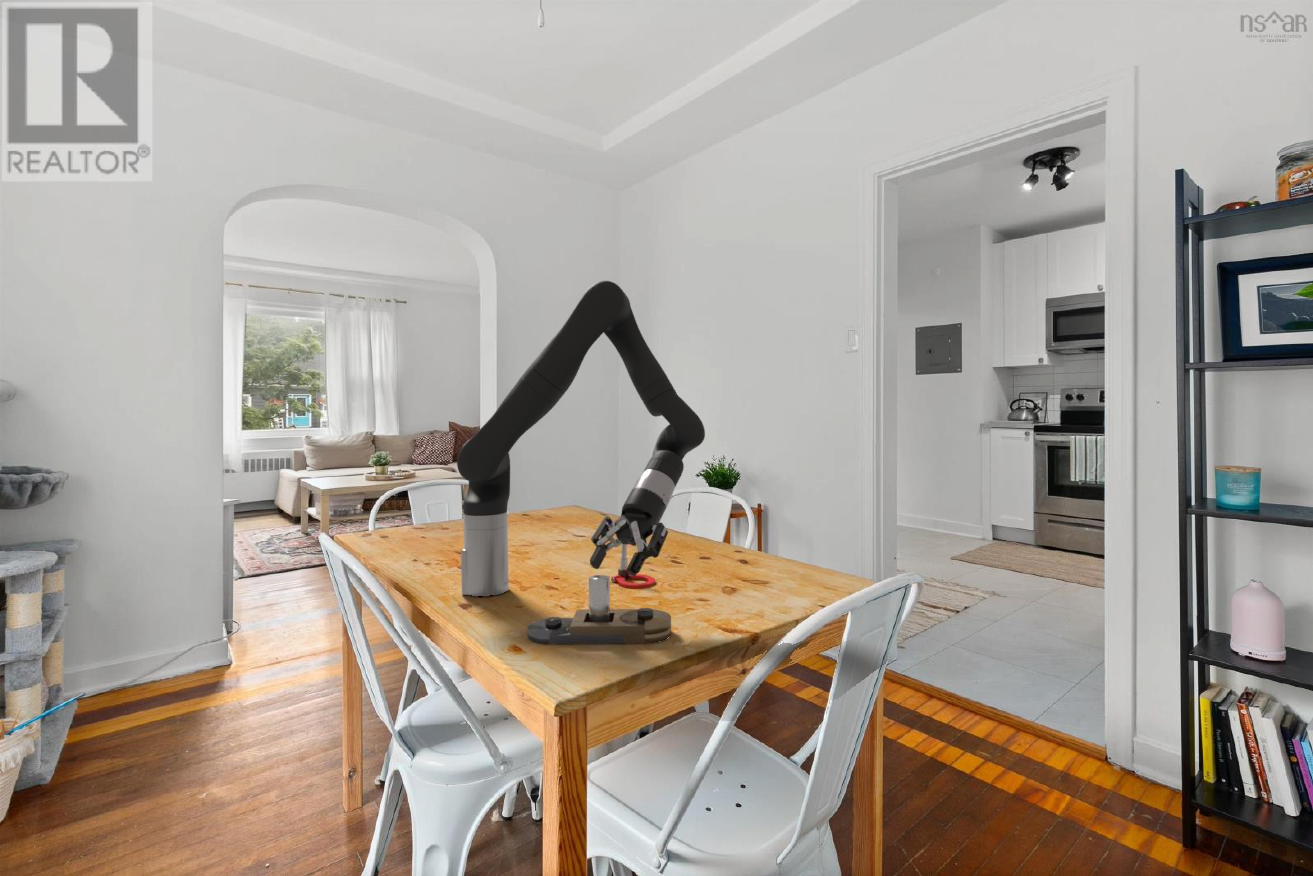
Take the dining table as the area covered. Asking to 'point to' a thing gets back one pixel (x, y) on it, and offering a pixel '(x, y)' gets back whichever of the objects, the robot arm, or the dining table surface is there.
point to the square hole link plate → (603, 628)
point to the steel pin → (599, 598)
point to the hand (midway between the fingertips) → (611, 570)
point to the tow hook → (625, 575)
